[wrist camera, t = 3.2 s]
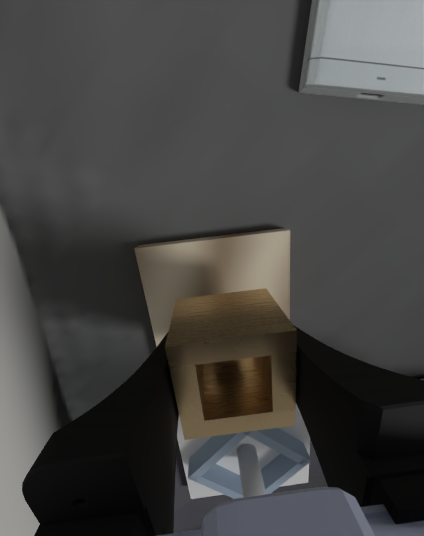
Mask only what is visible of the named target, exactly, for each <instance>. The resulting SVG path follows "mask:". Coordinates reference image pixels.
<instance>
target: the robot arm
mask: <svg viewBox="0 0 424 536" xmlns="http://www.w3.org/2000/svg"><path fill="white" fill-rule="evenodd" d="M293 326H294V325H293ZM294 327H295V326H294ZM295 328H296V330H297V356H296V404H297V407H298V409H299V411H300V413H301V416H302V418H303V421H304V423H305V426H306V428H307V431H308V433H309V436H310V439H311V441H312V444H313V447H314V449H315V452H316V455H317V457H318V460H319V463H320V465H321V468H322V471H323V474H324V477H325V479H326V482H327V485H328V487H316V488H309V489H302V490H294V491H287V492H280V493H273V494H265V495H258V496H251V497H243V498H236V499H233V500H229V501H226V502H223V503H220V504H218V505H216V506H215V507H214V508H213V509H212V510H210V511H209V512H208V513H207V514H206V515H205V517H204V518H203V522H202V527H201V529H200V530H193V531H186V532H179V533H173V529H174V494H175V468H176V447H177V429H178V420H179V411H178V407H177V402H176V397H175V392H174V388H173V383H172V378H171V374H170V369H169V364H168V359H167V355H166V350H165V344H166V340H167V336H168V332H167V334H166V335H165V336H164V338H163V339H162V341H161V342H160V343H159V345H158V346H157V347H156V349H155V350H154V351H153V352H152V354H151V355H150V356H149V357H148V359H147V360H146V361H145V362H144V363H143V364H142V365H141V367H140V368H139V369H138V370H137V371H136V372H135V373H134V374H133V375H132V376H131V377H130V378H129V379H128V380H127V381H126V382H124V383H123V384H122V385H121V386H120V387H119V388H117V389H116V390H115V391H114V392H113V393H111V394H110V395H109V396H108V397H107V398H105V399H104V400H103V401H101V402H100V403H99V404H97V405H96V406H95V407H93V408H92V409H90V410H89V411H87V412H86V413H84V414H83V415H82V416H80V417H78V418H77V419H75V420H74V421H72V422H70V423H69V424H67V425H66V426H64V427H62V428H61V429H59V430H58V431H56V432H54V433H53V434H52V436H51V437H50V439H49V440H48V442H47V443H46V445H45V446H44V449H43V450H42V451H41V453H40V455H39V456H38V458H37V459H36V461H35V463H34V464H33V466H32V467H31V469H30V471H29V472H28V474H27V475H26V477H25V479H24V481H23V485H22V486H23V487H22V492H23V495H24V498H25V500H26V502H27V504H28V505H29V507H30V508H31V510H32V512H33V513H34V515H35V517H36V518H37V520H38V522H39V523H40V525H39V527H38V529H37V531H36V533H35V535H34V536H424V379H417V378H413V377H409V376H405V375H401V374H398V373H395V372H392V371H388V370H385V369H382V368H379V367H376V366H373V365H370V364H368V363H365V362H363V361H360V360H358V359H355V358H353V357H350V356H348V355H346V354H343V353H341V352H339V351H337V350H335V349H333V348H331V347H329V346H327V345H325V344H323V343H322V342H320V341H318V340H316V339H314V338H313V337H311V336H309V335H308V334H306V333H305V332H303V331H302V330H300V329H298V328H297V327H295Z"/></svg>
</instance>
